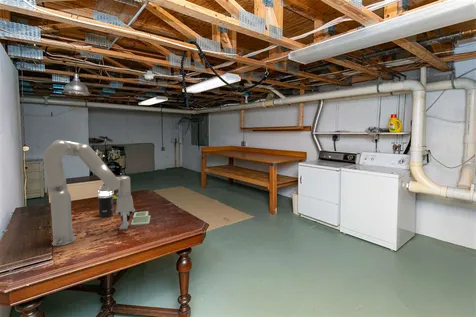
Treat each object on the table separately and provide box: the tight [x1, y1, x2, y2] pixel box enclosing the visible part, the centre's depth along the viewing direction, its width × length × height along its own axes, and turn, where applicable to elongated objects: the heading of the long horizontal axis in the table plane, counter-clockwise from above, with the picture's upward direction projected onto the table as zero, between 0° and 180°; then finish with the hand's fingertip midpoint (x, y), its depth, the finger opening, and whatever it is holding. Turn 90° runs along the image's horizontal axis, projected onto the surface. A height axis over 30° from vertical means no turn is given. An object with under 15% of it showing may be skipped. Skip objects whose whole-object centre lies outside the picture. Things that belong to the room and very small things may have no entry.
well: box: [130, 210, 151, 226], centre depth 182 cm, size 16×12×5 cm
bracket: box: [118, 211, 129, 231], centre depth 168 cm, size 6×5×12 cm
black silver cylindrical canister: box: [97, 184, 114, 218], centre depth 192 cm, size 10×10×25 cm
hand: (125, 220), depth 169 cm, fingers closed on bracket, 2 cm apart
